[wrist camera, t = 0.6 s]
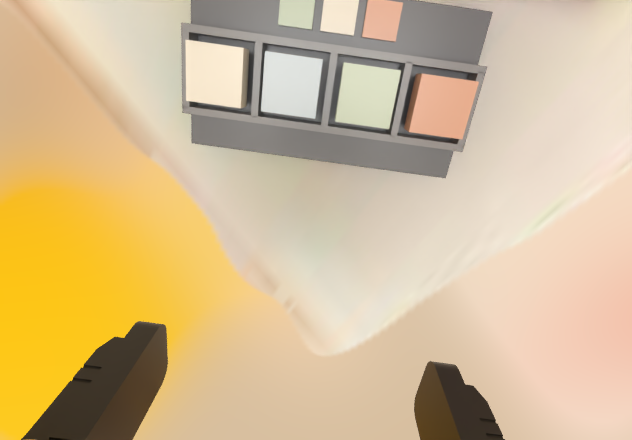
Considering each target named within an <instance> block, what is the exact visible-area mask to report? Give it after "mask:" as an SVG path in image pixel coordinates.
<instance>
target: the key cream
mask: <svg viewBox="0 0 632 440" xmlns="http://www.w3.org/2000/svg"><path fill="white" fill-rule="evenodd" d="M185 48H186V101H192V102H199V103H206V104H213V105H220V106H227V107H234V108H243V107H246V106H247V87H248V68H249V49H245V48H241V47H234V46H227V45H220V44H213V43H206V42H199V41H192V40H185Z"/></svg>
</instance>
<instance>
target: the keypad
mask: <svg viewBox="0 0 632 440" xmlns="http://www.w3.org/2000/svg"><path fill="white" fill-rule="evenodd" d="M491 16H492V12H490V11H483V10H476V9H469V8H462V7H456V6H449V5H442V4H435V3H428V2H422V1H415V0H191V24H188V23H181V36H182V107H183V113H187V114H191V119H192V143H195V144H202V145H209V146H217V147H224V148H231V149H238V150H246V151H253V152H260V153H267V154H274V155H282V156H289V157H296V158H303V159H311V160H318V161H325V162H332V163H339V164H347V165H354V166H361V167H368V168H376V169H383V170H390V171H397V172H404V173H412V174H419V175H426V176H433V177H441V178H446V175H447V172H448V168H449V165H450V161H451V157H452V154H453V151H459V152H462V151H463V148H464V144H465V141H466V138H467V134H468V131H469V127H470V124H471V120H472V117H473V114H474V110H475V107H476V103H477V100H478V97H479V93H480V90H481V86H482V83H483V79H484V76H485V73H486V69H487V67H486V66H479V65H478V62H479V58H480V55H481V51H482V48H483V44H484V41H485V37H486V34H487V30H488V27H489V23H490V20H491ZM185 40H192V41H199V42H206V43H213V44H220V45H227V46H234V47H241V48H245V49H249V68H248V87H247V106H246V107H243V108H234V107H227V106H220V105H213V104H206V103H199V102H192V101H186V48H185ZM265 51H269V52H276V53H283V54H290V55H297V56H304V57H311V58H318V59H323V66H322V74H321V81H320V89H319V97H318V105H317V113H316V118H315V119H313V118H306V117H298V116H291V115H284V114H277V113H270V112H263V111H261V102H262V87H263V73H264V58H265ZM344 62H346V63H352V64H359V65H366V66H373V67H380V68H387V69H394V70H401V74H400V79H399V84H398V88H397V93H396V98H395V103H394V108H393V113H392V117H391V122H390V127H389V129H384V128H377V127H370V126H362V125H355V124H348V123H341V122H335V114H336V107H337V100H338V93H339V87H340V80H341V73H342V66H343V63H344ZM416 74H429V75H436V76H443V77H450V78H457V79H464V80H471V81H478V82H479V84H478V87H477V91H476V94H475V98H474V101H473V105H472V108H471V111H470V115H469V118H468V122H467V125H466V129H465V132H464V136H463V139H455V138H448V137H441V136H434V135H427V134H419V133H412V132H408V131H407V130H405V129H404V125H405V121H406V116H407V112H408V107H409V103H410V98H411V94H412V89H413V85H414V80H415V76H416Z"/></svg>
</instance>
